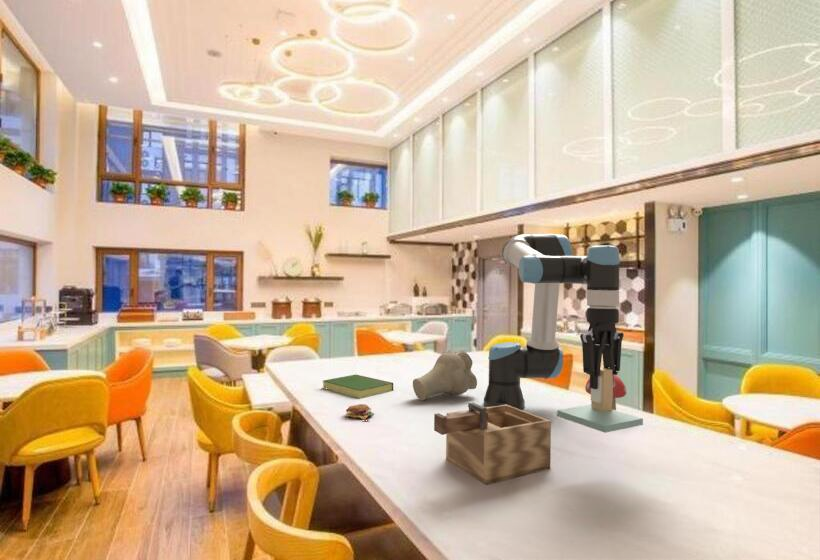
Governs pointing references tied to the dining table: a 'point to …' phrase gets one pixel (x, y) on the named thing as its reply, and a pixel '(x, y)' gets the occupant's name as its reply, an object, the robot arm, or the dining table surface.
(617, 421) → the lid
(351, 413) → the hamburger
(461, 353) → the beige knobby lump
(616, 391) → the decorative mushroom
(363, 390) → the hardcover book
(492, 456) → the toolbox
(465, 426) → the block
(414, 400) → the dining table surface
